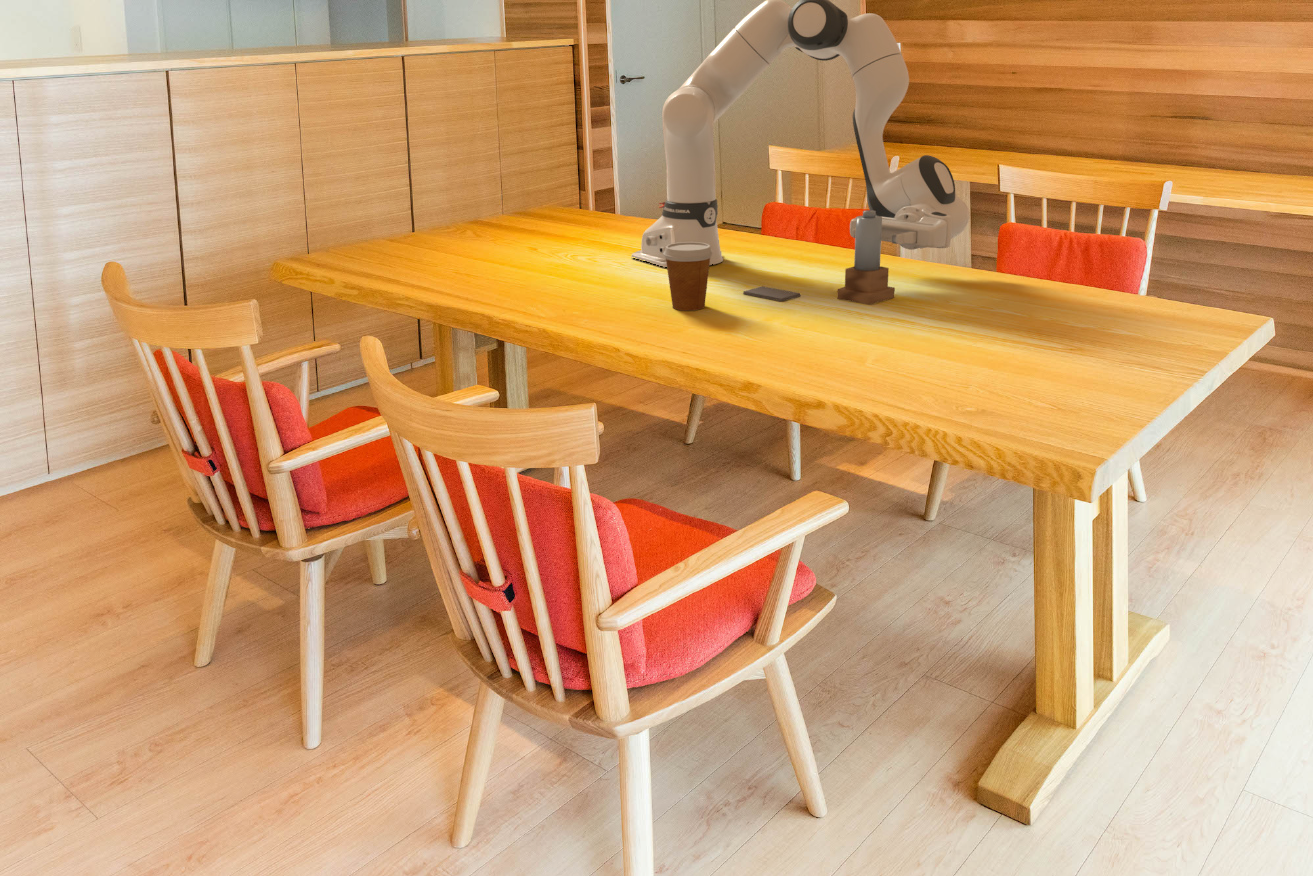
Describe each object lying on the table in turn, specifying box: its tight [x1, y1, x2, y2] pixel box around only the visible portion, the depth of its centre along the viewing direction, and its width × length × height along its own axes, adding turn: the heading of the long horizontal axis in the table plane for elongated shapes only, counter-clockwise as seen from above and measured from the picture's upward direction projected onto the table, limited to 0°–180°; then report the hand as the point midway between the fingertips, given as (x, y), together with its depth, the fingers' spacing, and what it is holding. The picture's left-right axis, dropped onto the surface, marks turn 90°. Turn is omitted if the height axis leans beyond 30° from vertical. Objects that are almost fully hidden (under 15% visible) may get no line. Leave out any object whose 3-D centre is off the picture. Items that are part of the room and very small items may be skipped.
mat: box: [743, 285, 801, 302], centre depth 231 cm, size 10×6×1 cm, turn 44°
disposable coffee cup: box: [663, 242, 713, 312], centre depth 221 cm, size 10×10×12 cm
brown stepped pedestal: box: [837, 266, 896, 306], centre depth 225 cm, size 8×8×6 cm
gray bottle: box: [853, 209, 882, 271], centre depth 222 cm, size 5×5×11 cm
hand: (874, 236), depth 224 cm, fingers open, 8 cm apart
